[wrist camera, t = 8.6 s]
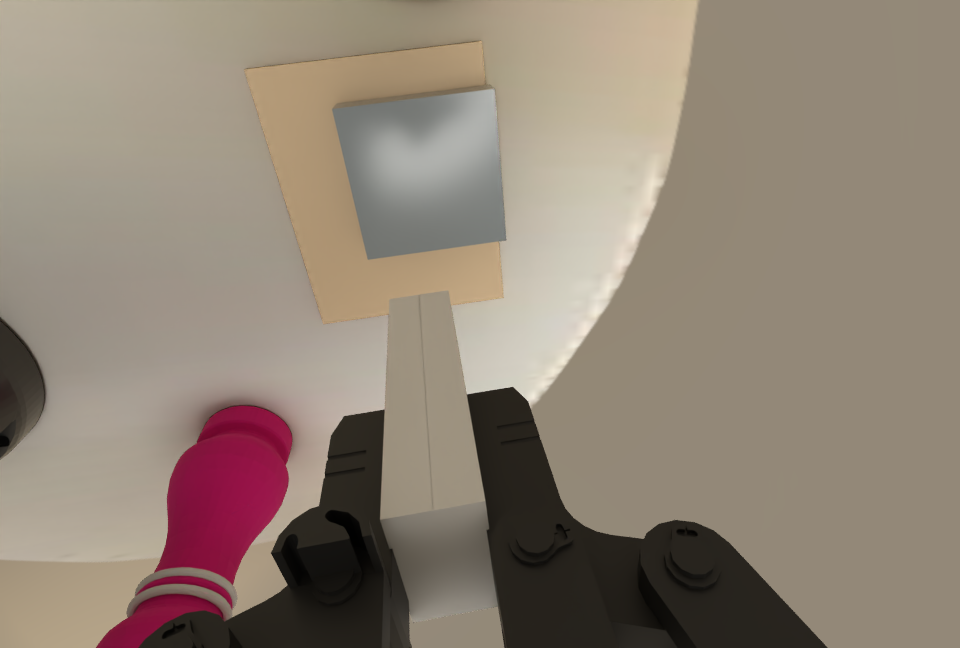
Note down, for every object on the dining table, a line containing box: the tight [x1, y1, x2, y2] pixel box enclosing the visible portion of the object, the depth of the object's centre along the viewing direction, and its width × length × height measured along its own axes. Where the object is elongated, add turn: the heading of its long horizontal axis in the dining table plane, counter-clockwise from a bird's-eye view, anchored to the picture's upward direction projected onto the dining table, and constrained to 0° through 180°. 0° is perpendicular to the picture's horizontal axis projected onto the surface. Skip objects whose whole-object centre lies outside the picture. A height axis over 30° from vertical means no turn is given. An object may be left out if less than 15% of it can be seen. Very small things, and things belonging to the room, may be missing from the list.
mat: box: [244, 41, 504, 324], centre depth 29 cm, size 12×15×1 cm
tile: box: [332, 85, 506, 260], centre depth 27 cm, size 2×8×8 cm
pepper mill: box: [96, 406, 292, 648], centre depth 29 cm, size 7×7×20 cm
